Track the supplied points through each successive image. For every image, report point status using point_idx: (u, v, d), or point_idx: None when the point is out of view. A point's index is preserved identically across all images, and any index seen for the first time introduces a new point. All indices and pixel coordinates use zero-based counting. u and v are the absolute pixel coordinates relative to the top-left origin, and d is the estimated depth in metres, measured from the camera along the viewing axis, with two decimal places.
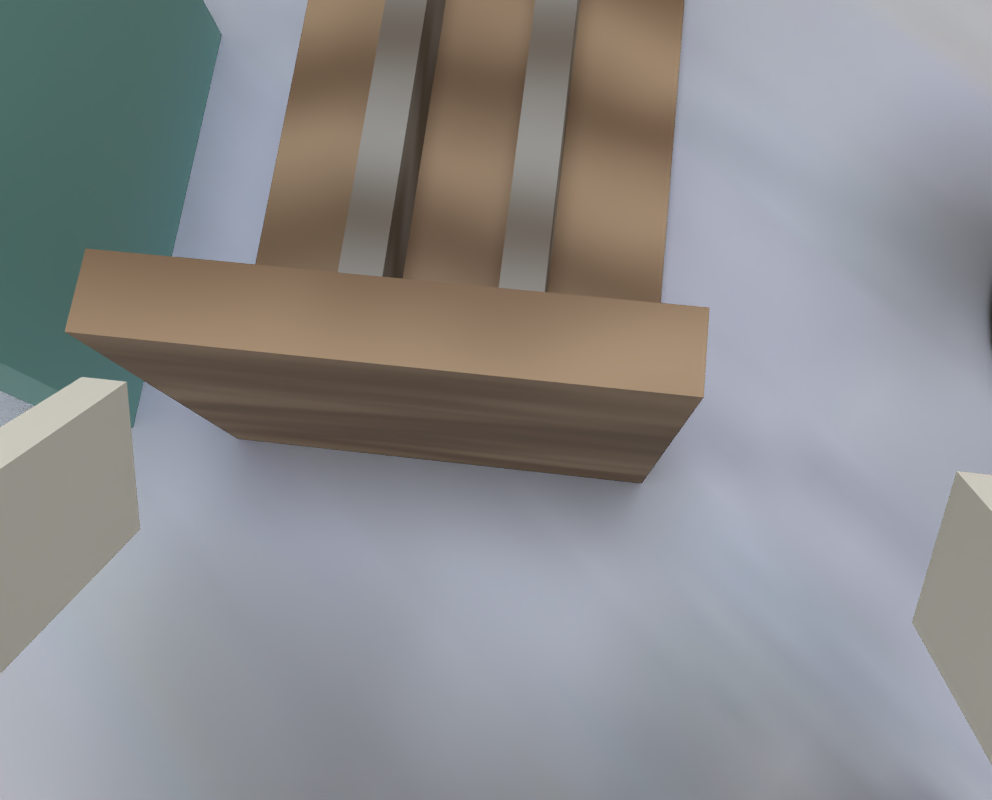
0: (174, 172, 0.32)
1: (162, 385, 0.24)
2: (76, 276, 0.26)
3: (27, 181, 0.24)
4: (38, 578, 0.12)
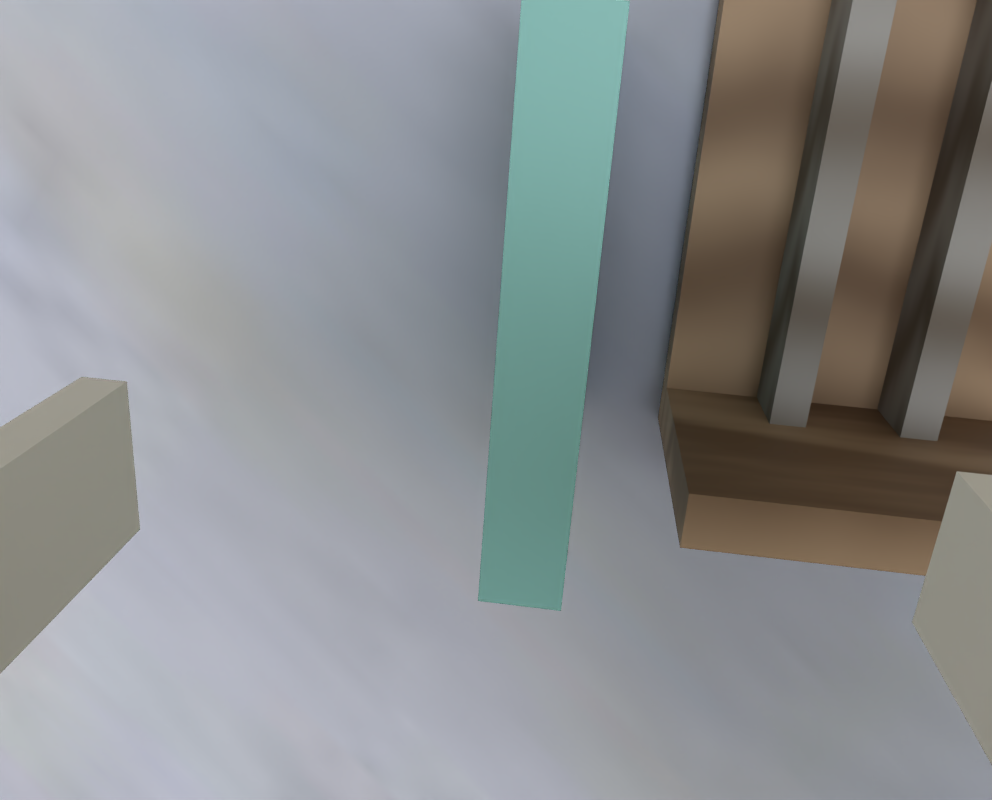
0: None
1: None
2: None
3: None
4: (38, 578, 0.12)
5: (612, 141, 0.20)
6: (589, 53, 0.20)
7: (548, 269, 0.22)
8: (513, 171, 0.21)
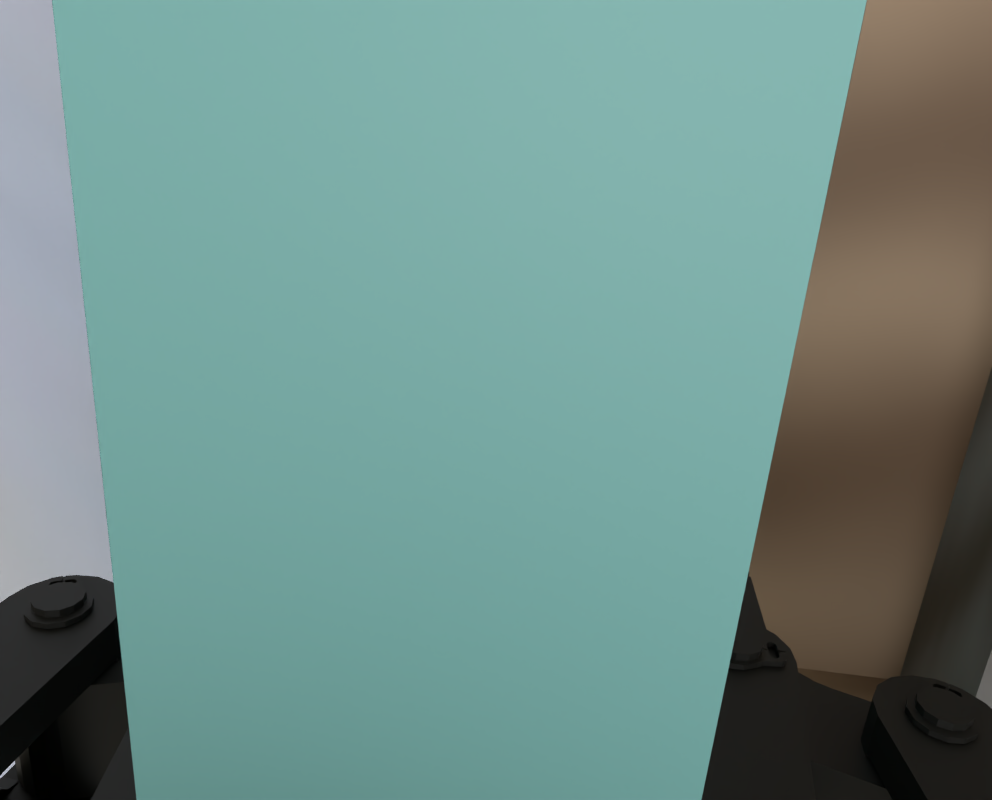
0: None
1: None
2: None
3: None
4: None
5: (739, 573, 0.03)
6: None
7: None
8: (150, 685, 0.04)
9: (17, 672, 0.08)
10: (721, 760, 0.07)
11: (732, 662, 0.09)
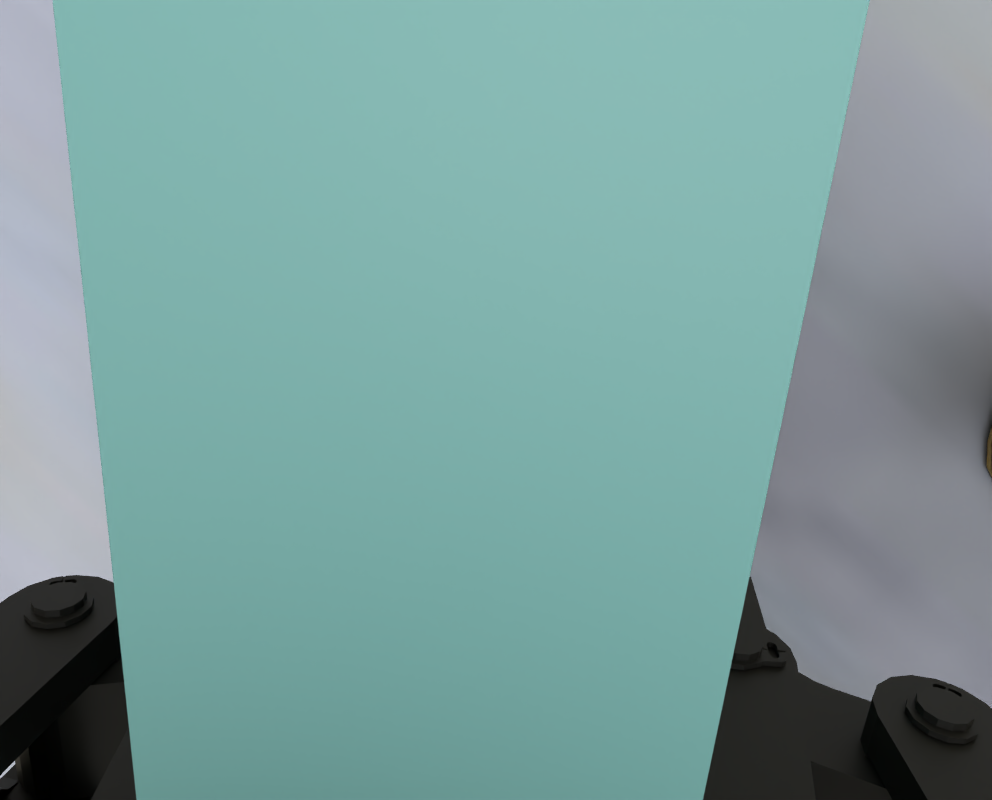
0: None
1: None
2: None
3: None
4: None
5: (743, 563, 0.03)
6: None
7: None
8: (149, 677, 0.04)
9: (17, 672, 0.08)
10: (721, 760, 0.07)
11: (732, 662, 0.09)
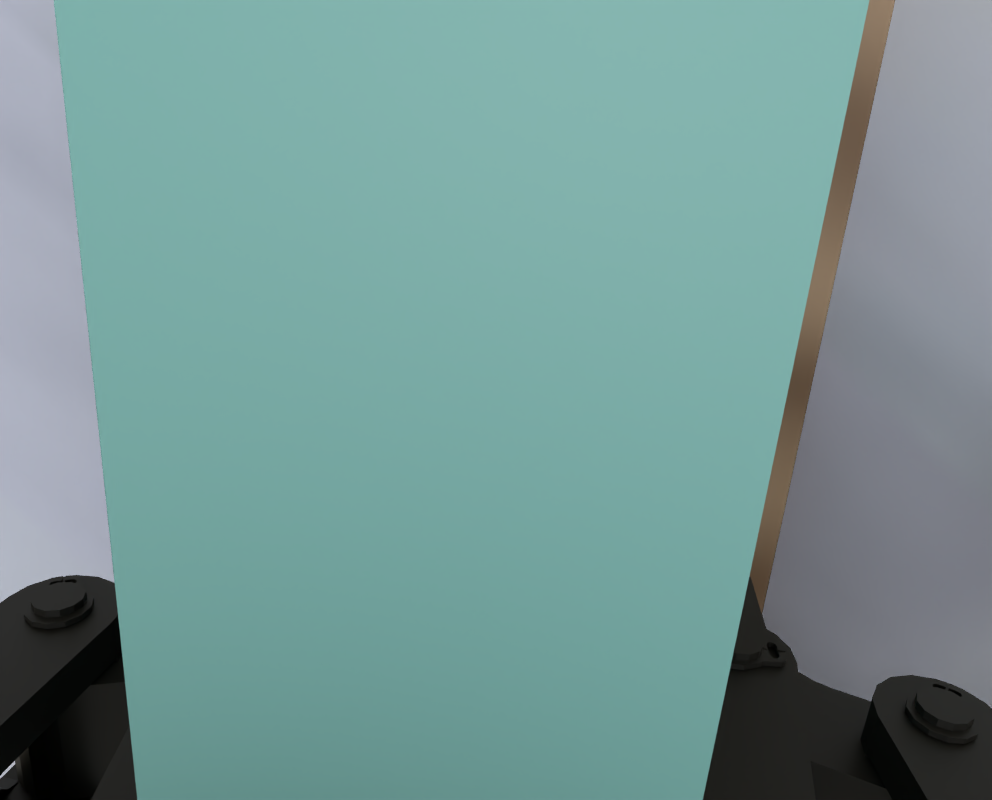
0: None
1: None
2: None
3: None
4: None
5: (744, 559, 0.03)
6: None
7: None
8: (150, 673, 0.04)
9: (17, 672, 0.08)
10: (721, 760, 0.07)
11: (732, 662, 0.09)
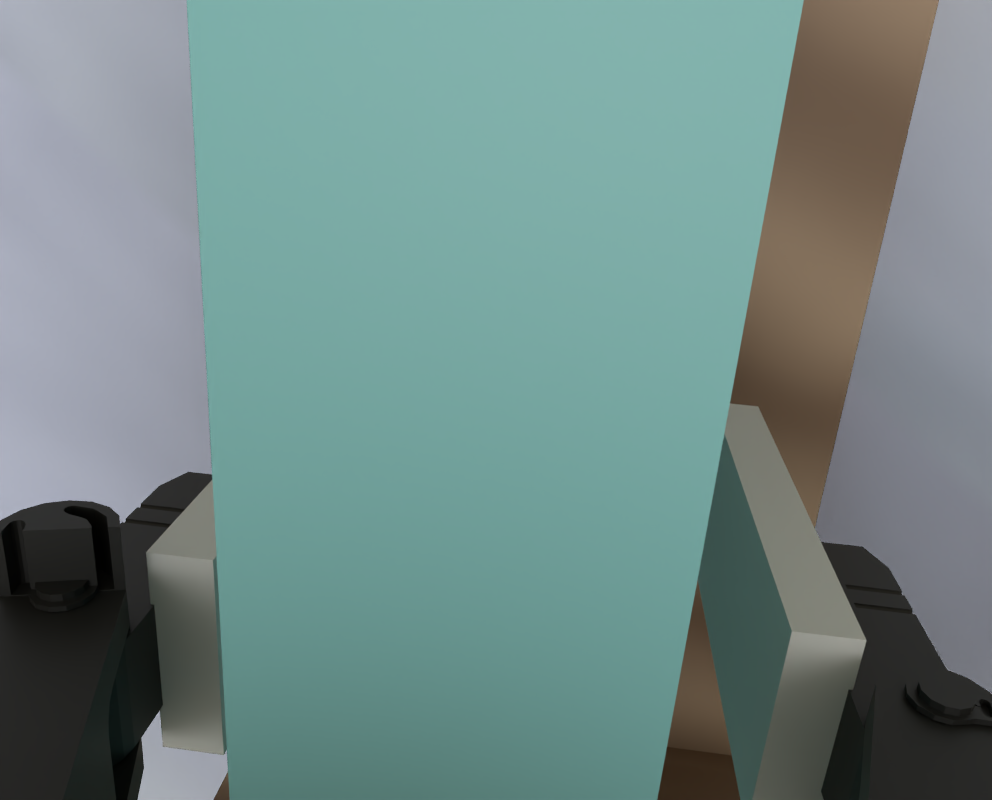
0: None
1: None
2: None
3: None
4: None
5: (712, 461, 0.04)
6: (597, 1, 0.03)
7: None
8: (237, 563, 0.04)
9: None
10: None
11: (940, 715, 0.08)
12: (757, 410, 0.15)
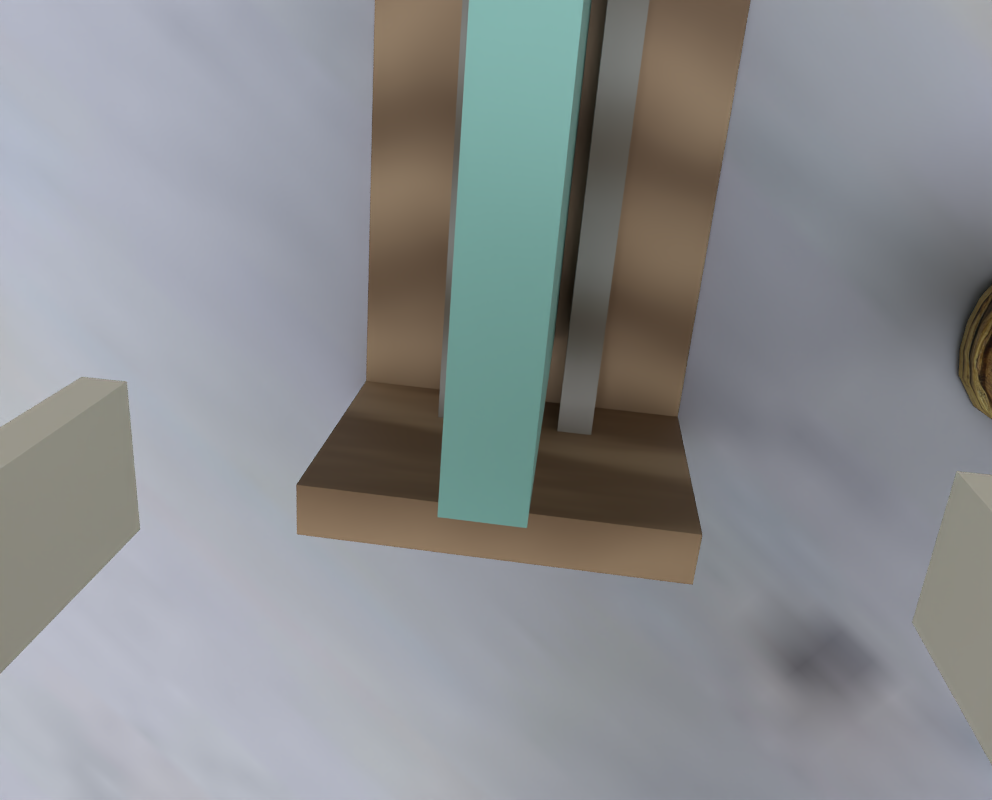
0: (578, 115, 0.33)
1: None
2: (557, 295, 0.32)
3: None
4: (38, 578, 0.12)
5: None
6: None
7: (512, 139, 0.20)
8: (472, 24, 0.19)
9: None
10: None
11: None
12: None
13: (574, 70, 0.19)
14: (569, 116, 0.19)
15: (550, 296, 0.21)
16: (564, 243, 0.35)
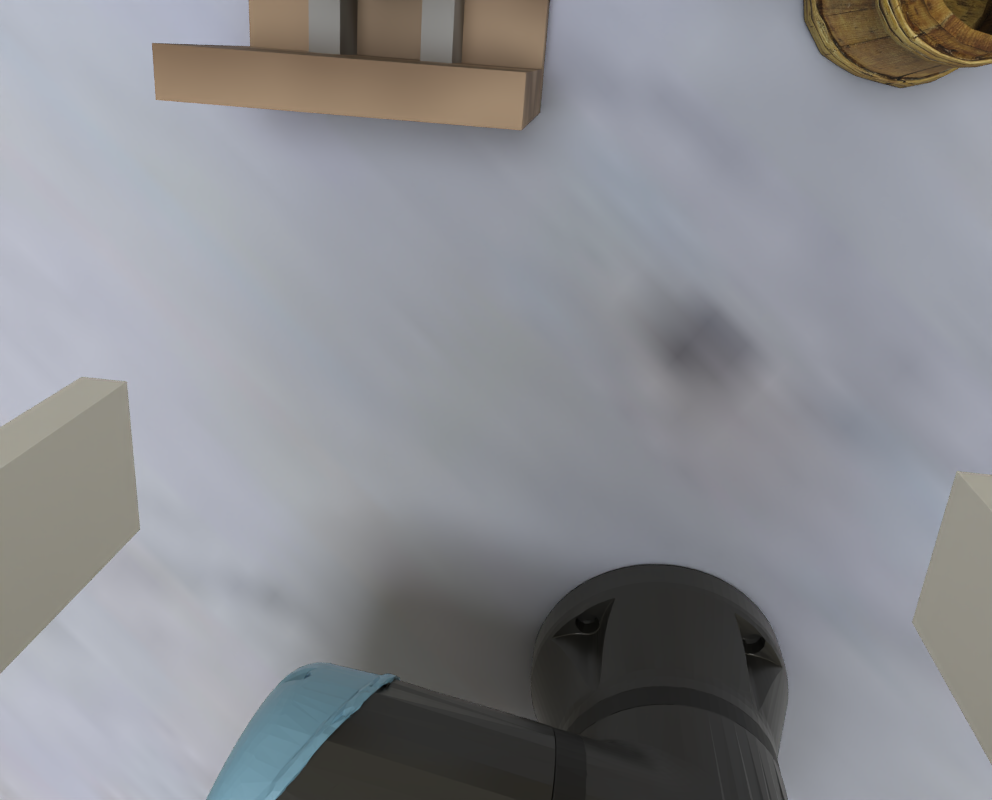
0: None
1: None
2: None
3: None
4: (38, 578, 0.12)
5: None
6: None
7: None
8: None
9: None
10: None
11: None
12: None
13: None
14: None
15: None
16: None
